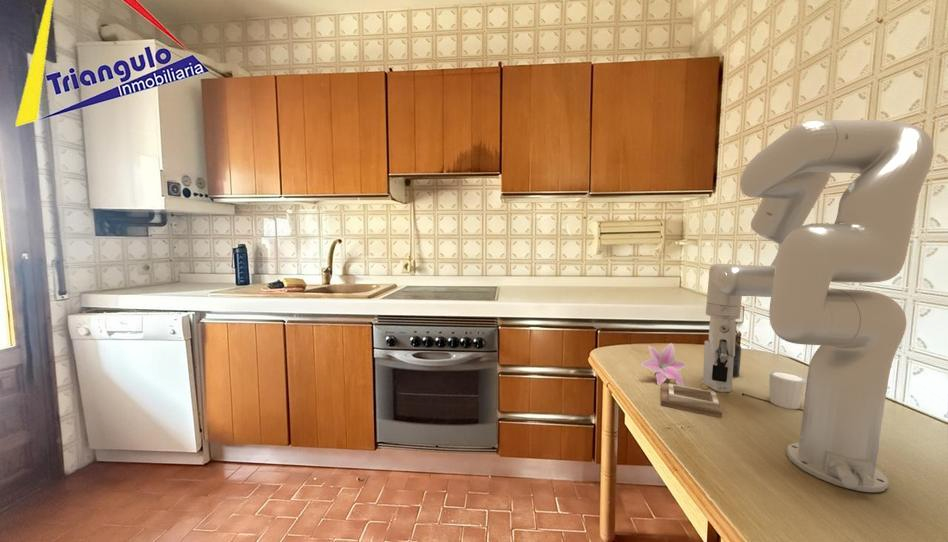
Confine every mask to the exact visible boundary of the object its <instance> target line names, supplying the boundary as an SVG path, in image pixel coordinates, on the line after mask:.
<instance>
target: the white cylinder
mask: <svg viewBox="0 0 948 542" xmlns="http://www.w3.org/2000/svg"><path fill="white" fill-rule="evenodd" d="M806 384H807V379H806V378H804V377H803V376H800V375H796V374H793V373H789V372H784V371H769V402H770V403H772V404H774V405H775V406H778V407H781V408H784V409H790V410H798V409H800V407H801V402H802V399H803V395H804V390H805V388H806V387H805V386H806Z"/></svg>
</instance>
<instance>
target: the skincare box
mask: <svg viewBox="0 0 948 542" xmlns="http://www.w3.org/2000/svg"><path fill="white" fill-rule="evenodd" d="M717 353H719V354H720V344H719V350H718V351H717ZM718 358H719V356H718V357H717V359H718ZM733 362H734V357H731V356H730V355H729V354H728V373H727V382H721V381H715V380H712V369H713V365H714V354H713V353H712V352H711V349H710V342H709V340H704V352H703V368H702V369H703V370H702V371H703V373H702V384H706V385H708V388H710V389H713V390H714V391H715V392H720V393H721V392H722V393H724V392H725V393H728V392H729V393H731V392H732V391H733V378H734V377H733Z"/></svg>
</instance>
